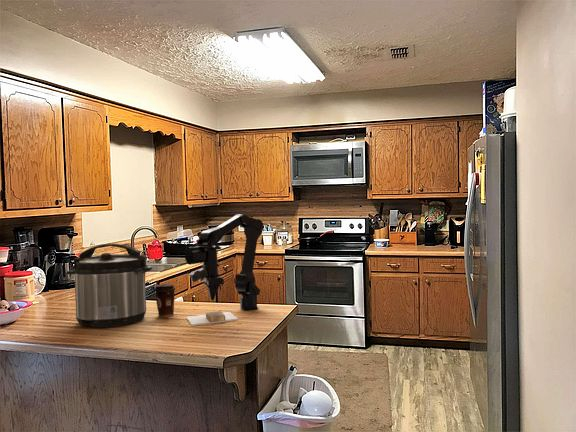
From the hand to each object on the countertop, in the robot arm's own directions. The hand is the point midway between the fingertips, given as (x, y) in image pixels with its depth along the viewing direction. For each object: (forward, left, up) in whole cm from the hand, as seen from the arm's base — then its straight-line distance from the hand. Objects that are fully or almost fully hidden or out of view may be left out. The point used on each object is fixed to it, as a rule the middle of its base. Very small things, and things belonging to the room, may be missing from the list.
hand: (212, 299), depth 194 cm
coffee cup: (+17, -15, -8) cm, 24 cm away
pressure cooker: (+38, -17, -8) cm, 42 cm away
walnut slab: (0, +1, -6) cm, 6 cm away
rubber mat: (+1, +2, -7) cm, 8 cm away
